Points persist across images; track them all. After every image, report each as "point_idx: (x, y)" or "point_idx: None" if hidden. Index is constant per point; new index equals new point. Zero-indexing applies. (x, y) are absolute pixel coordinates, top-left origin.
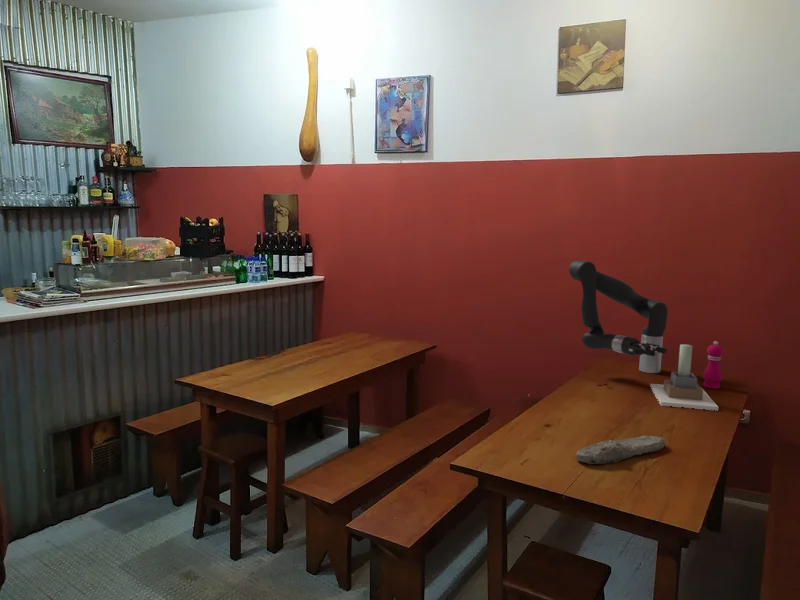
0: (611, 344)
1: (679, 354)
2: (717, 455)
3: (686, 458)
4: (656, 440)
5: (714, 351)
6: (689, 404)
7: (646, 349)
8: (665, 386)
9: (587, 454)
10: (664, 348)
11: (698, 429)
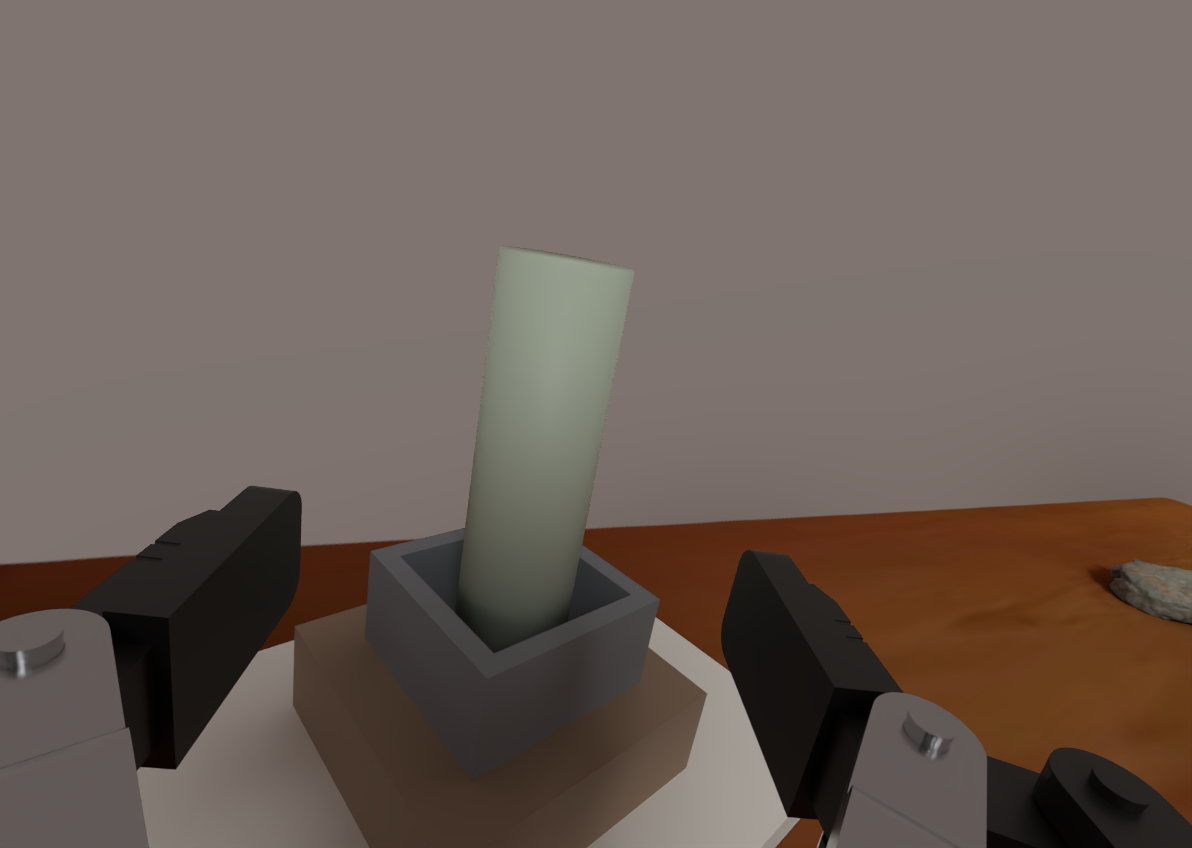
0: None
1: (596, 389)
2: (948, 512)
3: (1061, 542)
4: (1161, 571)
5: None
6: (678, 635)
7: (876, 684)
8: (541, 845)
9: None
10: (281, 501)
11: (869, 567)
